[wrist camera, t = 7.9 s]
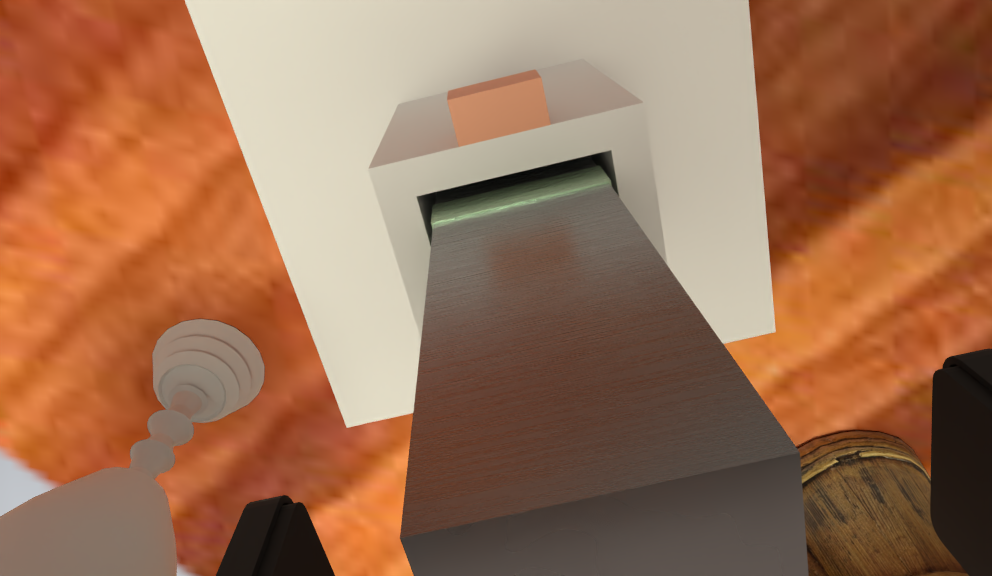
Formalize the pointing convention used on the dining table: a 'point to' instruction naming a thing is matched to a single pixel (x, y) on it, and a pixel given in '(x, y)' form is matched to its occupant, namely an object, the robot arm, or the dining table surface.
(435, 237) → the column
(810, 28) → the dining table surface
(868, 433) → the wooden mug
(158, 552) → the chalice
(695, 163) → the stand
